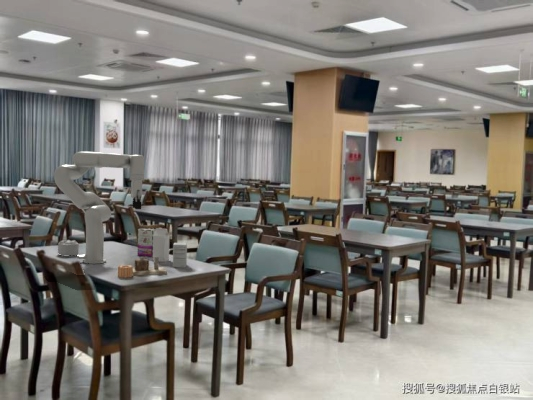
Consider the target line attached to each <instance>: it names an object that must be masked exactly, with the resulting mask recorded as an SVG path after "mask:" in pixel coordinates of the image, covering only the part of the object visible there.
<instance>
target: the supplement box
mask: <svg viewBox="0 0 533 400" xmlns="http://www.w3.org/2000/svg"><path fill="white" fill-rule="evenodd" d="M187 247H188V243H187V242H174V243H173V247H172V268H186V267H187V263H188V262H187V257H188V248H187Z"/></svg>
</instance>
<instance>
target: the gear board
mask: <svg viewBox="0 0 533 400" xmlns="http://www.w3.org/2000/svg"><path fill="white" fill-rule="evenodd" d="M153 262H154V263H153V265H154V266H153V267H149V266H150V260H149V259H146V258H145V256H140V257H139V258H137V259H134V267H133V276H137V275H138V276H141V275H142V276H143V275H167V274H168V271H167V269H166V268H165V267H164V266H159V262H160V261H159V257H154V261H153Z"/></svg>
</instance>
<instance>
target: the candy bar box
mask: <svg viewBox="0 0 533 400" xmlns="http://www.w3.org/2000/svg"><path fill="white" fill-rule="evenodd" d="M155 231H156V228H155V229H154V228H138V229H137V256H140V257H150V258H153V235H154V233H155Z"/></svg>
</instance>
